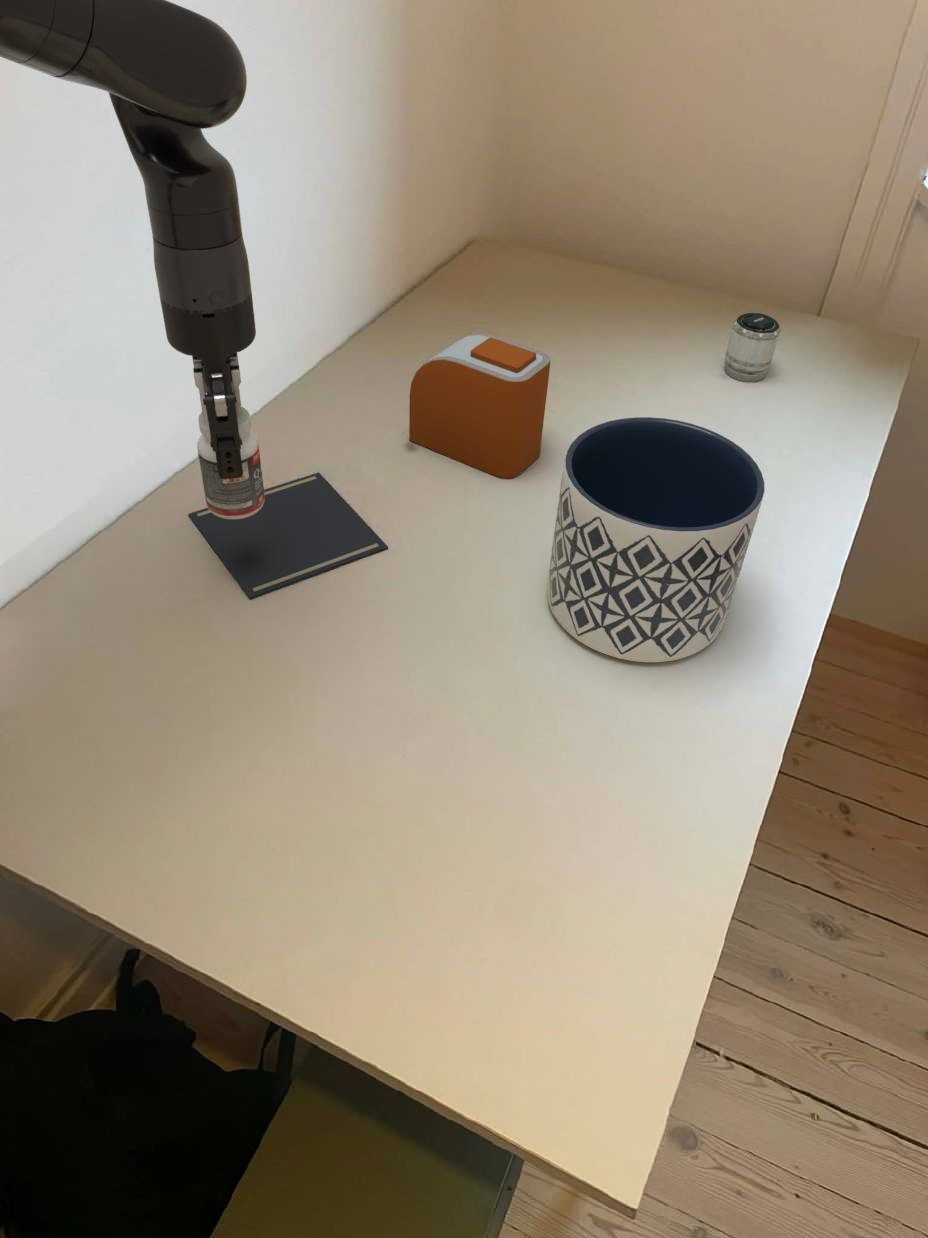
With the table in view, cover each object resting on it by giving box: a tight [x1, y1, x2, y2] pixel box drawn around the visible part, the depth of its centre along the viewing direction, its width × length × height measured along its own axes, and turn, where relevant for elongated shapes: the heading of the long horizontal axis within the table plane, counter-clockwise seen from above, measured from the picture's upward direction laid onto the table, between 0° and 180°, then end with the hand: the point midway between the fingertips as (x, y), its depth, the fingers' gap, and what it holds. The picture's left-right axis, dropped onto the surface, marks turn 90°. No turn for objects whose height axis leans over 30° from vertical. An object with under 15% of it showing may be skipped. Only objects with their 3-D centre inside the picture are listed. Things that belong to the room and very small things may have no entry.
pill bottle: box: [196, 406, 265, 519], centre depth 93 cm, size 6×6×10 cm
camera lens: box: [724, 312, 781, 383], centre depth 133 cm, size 6×6×8 cm
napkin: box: [187, 472, 389, 600], centre depth 105 cm, size 16×16×1 cm
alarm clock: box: [408, 332, 552, 479], centre depth 114 cm, size 15×8×14 cm, turn 57°
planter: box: [546, 416, 766, 663], centre depth 93 cm, size 18×18×16 cm
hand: (229, 456), depth 92 cm, fingers closed on pill bottle, 5 cm apart
